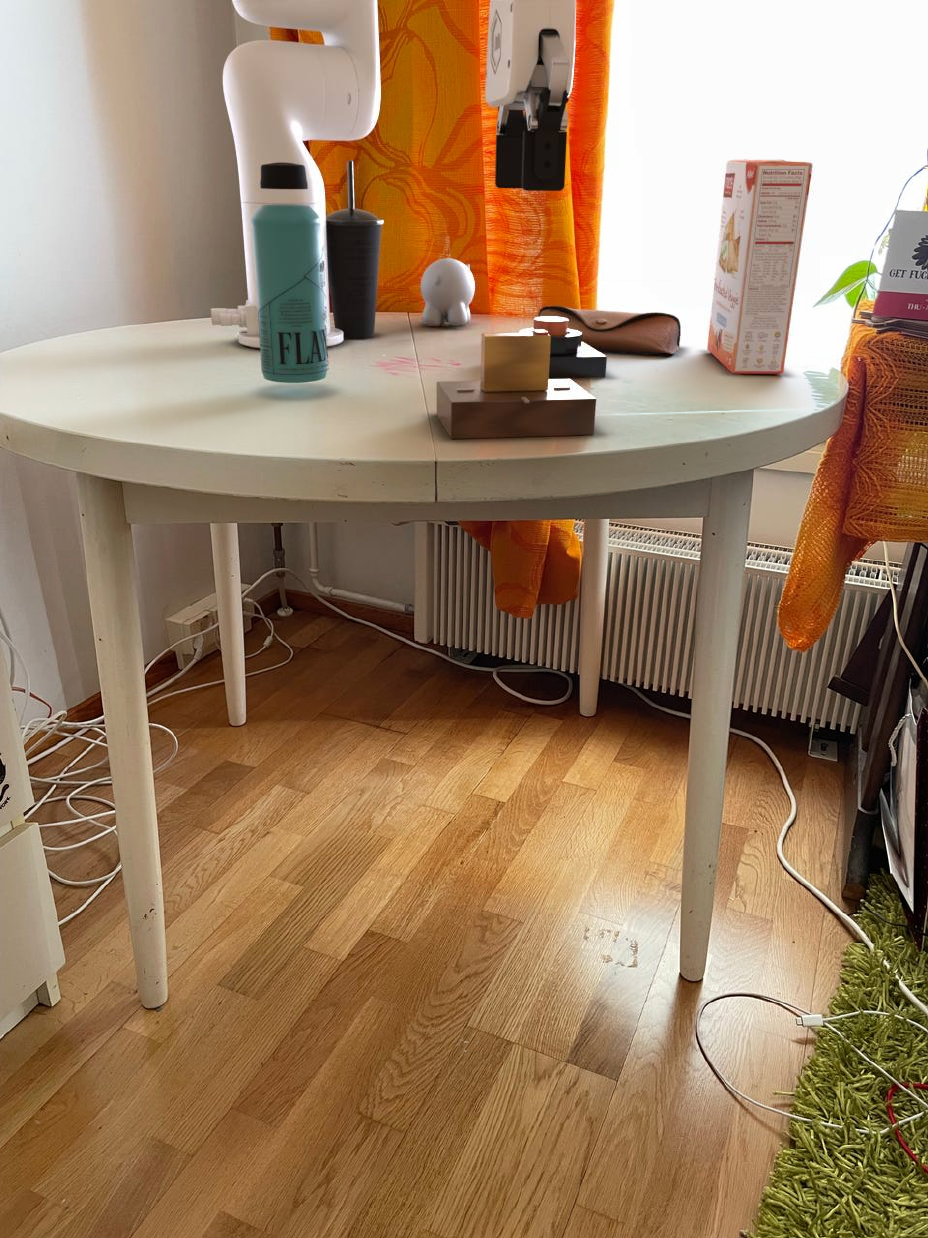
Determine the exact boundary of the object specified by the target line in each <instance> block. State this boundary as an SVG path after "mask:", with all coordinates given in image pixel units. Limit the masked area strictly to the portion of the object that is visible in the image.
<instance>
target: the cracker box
mask: <svg viewBox="0 0 928 1238" xmlns="http://www.w3.org/2000/svg"><path fill="white" fill-rule="evenodd" d="M812 171H813V163H812V162H807V161H790V160H785V159H748V158H747V159H746V158H745V159H732V160H727V161H726V166H725V175H724V185H723V193H722V194H723V195H722V204H721V215H720V224H719V225H720V226H719V234H718V243H717V253H716V262H715V269H714V270H715V271H714V280H713V290H712V300H711V307H710V309H711V310H710V318H709V329H708V337H707V345H706V346H707V347H706V349H707V351H709V353H710V354H712V356H713V357H715V359H716V360H718V362H720V363H721V365H723V366H724V367H725V368H726V369H727V370H728V371H729V373H731V374H733V375H783V374H784V370H785V364H786V363H785V362H786V356H787V347H788V342H789V334H790V327H791V321H792V320H791V319H792V314H793V313H792V312H793V305H794V300H795V299H794V298H795V293H796V292H795V290H796V285H797V277H798V270H799V264H800V257H801V249H802V241H803V235H804V228H805V221H806V216H807V215H806V214H807V208H808V201H809V193H810V185H811V180H812V173H813V172H812Z"/></svg>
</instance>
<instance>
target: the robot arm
mask: <svg viewBox="0 0 928 1238" xmlns="http://www.w3.org/2000/svg"><path fill="white" fill-rule="evenodd" d="M231 3H232V5H233V7H234V9H235V11H236V12H237V14H238V15H239V16H240V17H241V18H242V19H244V20H245V21H248V22H249V23H252V24H255V25H259V26H265V27H270V28H279V29H290V30H299V31H313V32H320V33H321V35H322V39H323V44H314V43H307V42H297V41H287V40H286V41H285V40H275V39H257V40H251V41H248V42H245V43H242V44H240V45H238V46H236V47H235V48H234V49H233V50H232V51H231V52H230V53H229V54H228V55H227V58H226V60H225V62H224V66H223V71H222V89H223V90H222V91H223V96H224V102H225V105H226V110H227V114H228V119H229V122H230V123H229V124H230V127H231V132H232V136H233V142H234V147H235V154H236V160H237V161H236V163H237V171H238V173H237V174H238V181H239V194H240V206H241V219H242V234H243V247H244V261H245V273H246V275H245V276H246V285H247V286H246V288H247V299H245V305H237V308H226V307H223V308H222V307H218V308H214V307H213V308H212V307H211V308H210V318H211V325H212V326H221V327H231V326H238V327H239V328H244V329H241V330H239V331H238V332H237V341H238V343H239V344H241V345H243V346H245V347H250V348H255V349H260V338H259V324H258V297H257V284H256V271H255V257H254V244H253V230H252V224H251V218H252V216H253V215H254V214H255V212H256V211H257V210H258V209H259V208H260V207H261V206H262V205H277V204H287V205H307V206H310V207H311V208H312V209H313V210H314V211H315V212H316V213H317V214H318V215H319V217H320V218H321V225H320V228H321V244H322V248H324V250H322V253H323V255H322V261H323V262H324V269H325V270H323V278H324V273H325V278H324V282H325V284H323V285H325V286H324V294H325V295H324V308H325V307H326V308H325V312H326V313H325V314H326V316H327V318H326V316H325V318H326V319H325V325H326V328H327V336H326V344H327V346H328V347H333V346H336V345H340V344H341V343H342V342H344V338H343V331H342V330H340V329H338V328H335V326H331V314H330V312H331V311H330V284H329V276H328V259H327V235H326V216H327V214H326V195H325V194H326V192H325V185H324V180H323V177H322V173H321V171H320V170H319V169H320V168H319V167H318V165H317V163H316V162H315V160H314V159H313V157H312V155H311V154H310V152H309V151H308V149H307V147H306V145H305V144H304V142H306V141H338V142H342V141H344V142H345V141H346V142H350V141H357V140H362V139H364V138H365V137H367V136H368V135H369V134H370V133H371V132H372V131H373V130H374V128H375V126H376V124H377V121H378V118H379V114H380V108H381V107H380V106H381V65H380V40H379V39H380V38H379V37H380V35H379V17H378V16H379V13H378V0H231ZM488 10H489V12H488V29H487V48H486V49H487V50H486V67H485V84H484V85H485V88H484V89H485V91H484V100H485V102H486V104H487V105H488V106H489V107H490V108H497V112H498V113H497V114H498V115H497V120H496V135H495V161H494V162H495V163H494V165H495V167H494V185H495V187H496V188H498V189H522V190H523V191H525V192H561V191H562V190H564V189H565V186H566V184H565V183H566V182H565V181H566V164H567V163H566V161H567V160H566V159H567V141H568V131H567V130H568V124H569V117H568V109H567V103H569V101H570V95H571V93H572V88H573V81H574V71H575V70H574V69H575V55H576V54H575V53H576V29H577V27H576V23H577V21H576V20H577V0H489V9H488ZM278 162H286V163H294V164H299V165H304V166H305V170H306V179H307V183H308V189H261V187H260V181H261V165H264V164H270V163H278ZM324 282H323V283H324ZM325 298H326V299H325ZM327 337H328V338H327ZM327 339H328V340H327ZM327 341H328V343H327Z"/></svg>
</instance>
